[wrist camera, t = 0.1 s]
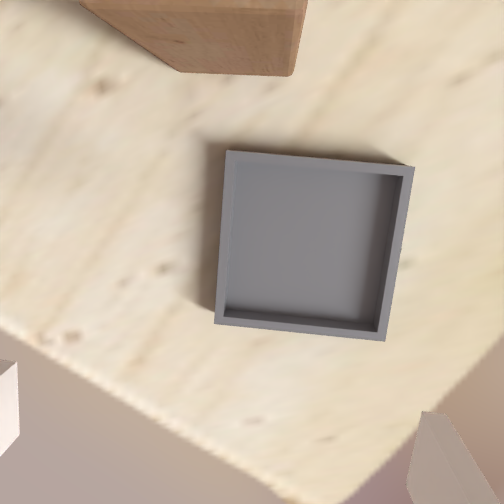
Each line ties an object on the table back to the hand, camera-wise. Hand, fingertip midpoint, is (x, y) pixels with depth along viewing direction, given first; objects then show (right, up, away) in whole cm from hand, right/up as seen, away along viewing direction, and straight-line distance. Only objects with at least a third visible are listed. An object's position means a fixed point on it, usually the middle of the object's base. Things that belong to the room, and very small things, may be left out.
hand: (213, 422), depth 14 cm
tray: (+6, +6, +27) cm, 28 cm away
